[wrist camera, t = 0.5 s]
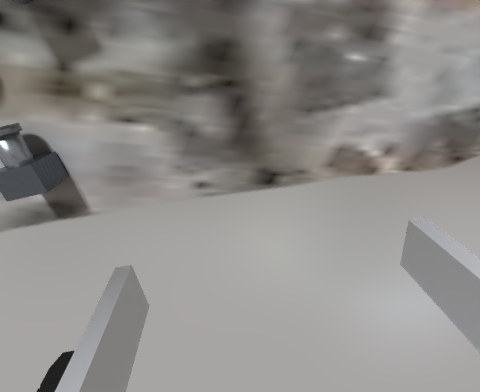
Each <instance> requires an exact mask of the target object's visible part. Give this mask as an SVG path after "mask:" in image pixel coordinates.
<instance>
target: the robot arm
mask: <svg viewBox="0 0 480 392" xmlns="http://www.w3.org/2000/svg"><path fill="white" fill-rule="evenodd" d="M401 266H402V267H403V268H404V269H405V270H406V271H407V272H408V273H409V274H410V275H411V277H412V278H413V279H414V280H415V281H416V282H417V283H418V284H419V285H420V287H421V288H422V289H423V290H424V291H425V292H426V293H427V294H428V295H429V297H430V298H431V299H432V300H433V301H434V302H435V303H436V304H437V306H438V307H439V308H440V309H441V310H442V311H443V312H444V313H445V314H446V315H447V317H448V318H449V319H450V320H451V321H452V322H453V323H454V324H455V325H456V327H457V328H458V329H459V330H460V331H461V332H462V333H463V334H464V335H465V336H466V338H467V339H468V340H469V341H470V342H471V343H472V344H473V345H474V346H475V348H476V349H477V350H478V351H479V352H480V258H478V257H477V256H476V255H474V254H473V253H472V252H470V251H469V250H468V249H466V248H465V247H464V246H462V245H461V244H460V243H458V242H457V241H456V240H454V239H453V238H452V237H450V236H449V235H448V234H446V233H445V232H444V231H442V230H441V229H440V228H438V227H437V226H436V225H434V224H433V223H432V222H430V221H429V220H428V219H426V218H425V217H423V218H417V219H411V220H409V221H408V226H407V232H406V237H405V242H404V248H403V253H402V259H401ZM148 308H149V304H148V302H147V300H146V297H145V295H144V293H143V290H142V288H141V286H140V283H139V281H138V279H137V276H136V274H135V272H134V270H133V267H132V266H131V265H130V266H124V267H118V268H115V270H114V272H113V274H112V276H111V278H110V280H109V282H108V284H107V286H106V288H105V290H104V292H103V294H102V296H101V298H100V300H99V302H98V304H97V307H96V309H95V311H94V313H93V315H92V317H91V319H90V321H89V323H88V325H87V327H86V329H85V331H84V333H83V335H82V337H81V339H80V341H79V343H78V345H77V347H76V350H75V351H70V352H65V353H62V354H61V356H60V357H59V358H58V359H57V360H56V361H55V362H54V364H53V365H52V366H51V367H50V368H49V370H48V372H47V374H46V376H45V378H44V379H43V381H42V383H41V385H40V386H41V387H40V389H38V390H37V392H126V388H127V385H128V381H129V378H130V374H131V370H132V367H133V363H134V359H135V356H136V352H137V348H138V345H139V341H140V338H141V334H142V330H143V327H144V323H145V319H146V316H147V312H148Z"/></svg>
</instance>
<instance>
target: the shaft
mask: <svg viewBox="0 0 480 392" xmlns="http://www.w3.org/2000/svg"><path fill="white" fill-rule="evenodd" d="M21 130H22V128H21V126H20V124H19V123H15V124H11V125H7V126H3V127H0V160H1V161H2V163H3V164H4V166H5V167H3V168H1V169H0V192H1V193H2V195H3V196H4V197H5V199H6V200H7V201H11V200H15V199H20V198H24V197H28V196H33V195H37V194H41V193H46V192H48V191H50V190H51V189H52V188H54V187H55V186H56V185H58V184H59V183H60V182H62V181H63V180H64V179H66V178H67V177H68V174H67V172H66V170H65V169H64V167H63V165H62V163H61V161H60V160H59V158H58V156H57V154H56V152H52V153H48V154H43V155H39V156H35V157H34V156H33V154H32V152H31V151H30V149H29V147H28V146H27V144H26V142H25V141H24V139H23V137H22V136H21V134H20V132H19V131H21Z"/></svg>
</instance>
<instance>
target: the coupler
mask: <svg viewBox="0 0 480 392" xmlns="http://www.w3.org/2000/svg"><path fill="white" fill-rule="evenodd" d="M13 1H16V2H19V3H23V4H25V3H27V2H30V1H32V0H13Z"/></svg>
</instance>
